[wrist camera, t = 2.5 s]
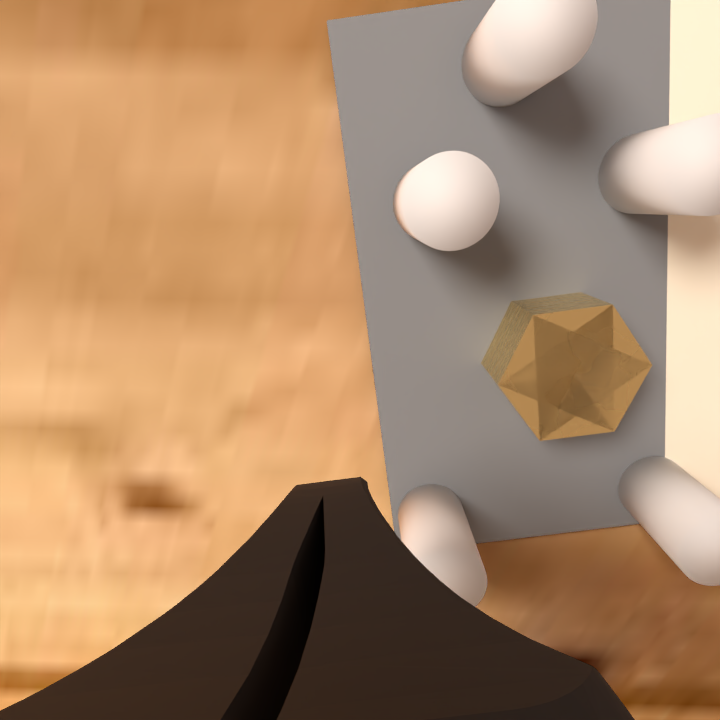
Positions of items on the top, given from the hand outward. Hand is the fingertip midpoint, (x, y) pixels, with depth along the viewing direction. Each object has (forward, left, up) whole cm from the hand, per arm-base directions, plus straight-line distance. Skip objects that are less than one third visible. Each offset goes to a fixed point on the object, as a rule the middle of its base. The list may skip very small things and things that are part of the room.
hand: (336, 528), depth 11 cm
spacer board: (-9, -2, -10) cm, 13 cm away
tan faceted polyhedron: (-7, 0, -9) cm, 11 cm away
